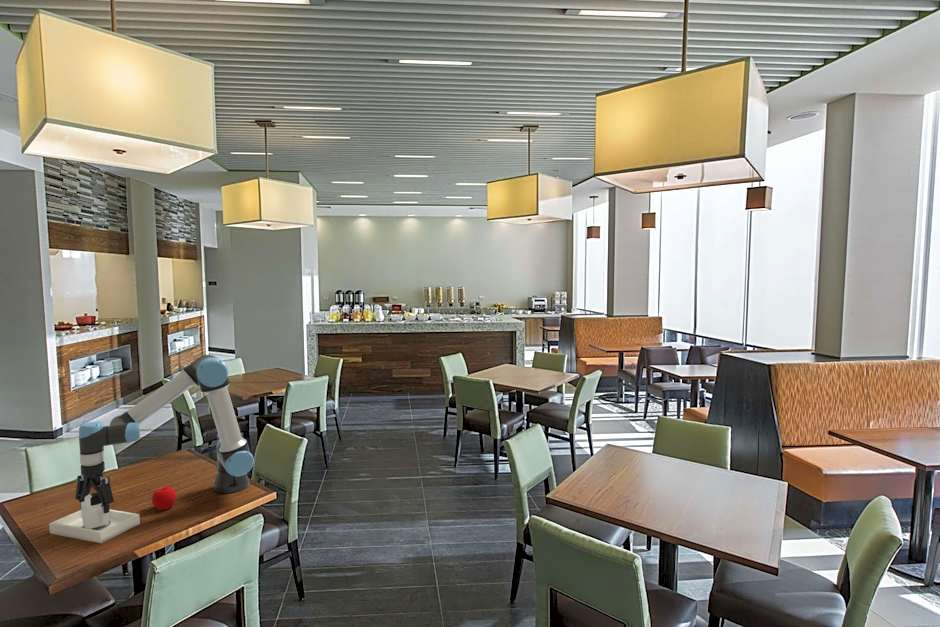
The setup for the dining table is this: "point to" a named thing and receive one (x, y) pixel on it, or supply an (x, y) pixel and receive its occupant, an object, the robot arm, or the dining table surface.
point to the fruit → (164, 498)
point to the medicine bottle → (92, 512)
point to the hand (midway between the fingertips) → (95, 519)
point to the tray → (76, 529)
